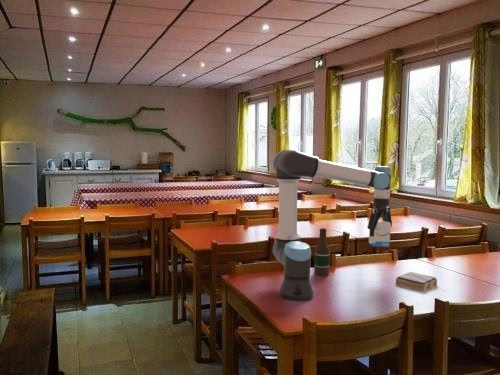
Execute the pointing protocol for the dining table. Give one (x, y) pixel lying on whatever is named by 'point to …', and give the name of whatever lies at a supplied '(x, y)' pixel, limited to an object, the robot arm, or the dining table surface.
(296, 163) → the robot arm
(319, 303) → the dining table surface
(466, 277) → the dining table surface
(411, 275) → the plinth
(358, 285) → the dining table surface
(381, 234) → the ink box
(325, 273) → the beer bottle
